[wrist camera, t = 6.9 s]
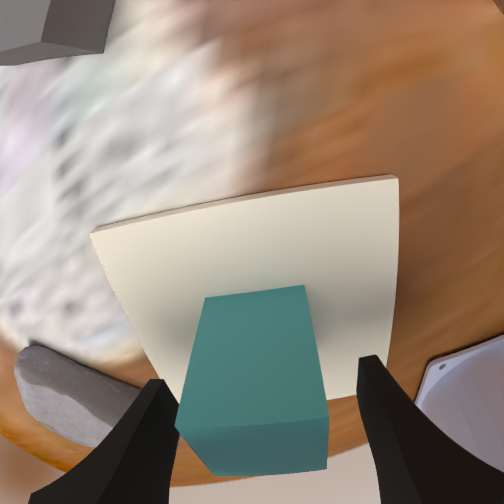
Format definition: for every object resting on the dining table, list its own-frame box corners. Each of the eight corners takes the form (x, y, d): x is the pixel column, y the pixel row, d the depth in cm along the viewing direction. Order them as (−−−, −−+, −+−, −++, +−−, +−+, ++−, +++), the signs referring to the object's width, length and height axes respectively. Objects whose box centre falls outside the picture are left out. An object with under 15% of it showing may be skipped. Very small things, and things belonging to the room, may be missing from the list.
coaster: (391, 174, 10) (398, 178, 10) (379, 381, 16) (381, 388, 15) (95, 227, 12) (89, 233, 11) (183, 404, 17) (181, 411, 16)
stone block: (174, 433, 23) (194, 398, 17) (161, 480, 19) (176, 469, 13) (55, 382, 21) (28, 323, 15) (35, 423, 18) (-6, 380, 11)
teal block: (304, 284, 12) (328, 416, 6) (310, 353, 14) (326, 469, 8) (205, 297, 12) (174, 425, 7) (227, 363, 14) (214, 475, 9)
